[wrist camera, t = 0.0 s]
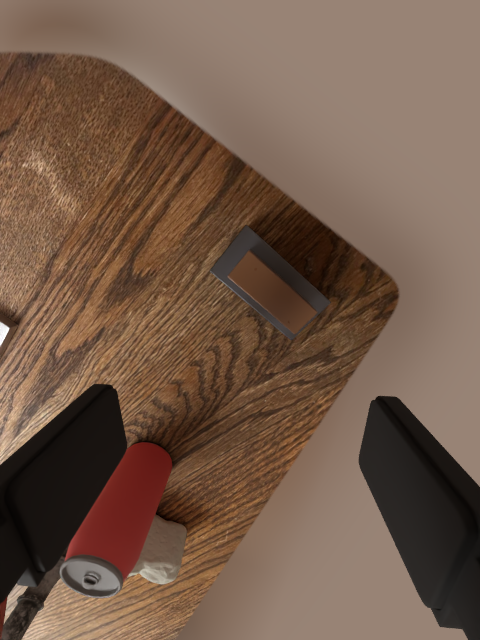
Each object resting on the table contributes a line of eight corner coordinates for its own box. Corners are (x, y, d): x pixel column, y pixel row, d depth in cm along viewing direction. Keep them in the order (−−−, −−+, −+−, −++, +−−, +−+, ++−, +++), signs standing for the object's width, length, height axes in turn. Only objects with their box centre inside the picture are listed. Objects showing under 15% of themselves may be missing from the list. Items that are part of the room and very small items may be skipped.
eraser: (214, 268, 23) (200, 276, 17) (247, 226, 21) (244, 220, 16) (288, 331, 24) (297, 357, 19) (323, 296, 23) (344, 313, 18)
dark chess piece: (95, 545, 38) (28, 673, 27) (67, 551, 39) (-10, 675, 28) (76, 522, 37) (-4, 647, 25) (47, 528, 38) (-43, 651, 26)
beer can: (120, 465, 32) (47, 586, 21) (133, 431, 30) (59, 546, 19) (164, 482, 33) (116, 610, 21) (180, 450, 31) (136, 573, 19)
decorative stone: (107, 552, 36) (67, 607, 27) (136, 486, 39) (109, 516, 30) (172, 580, 36) (154, 647, 26) (196, 512, 39) (188, 550, 29)
